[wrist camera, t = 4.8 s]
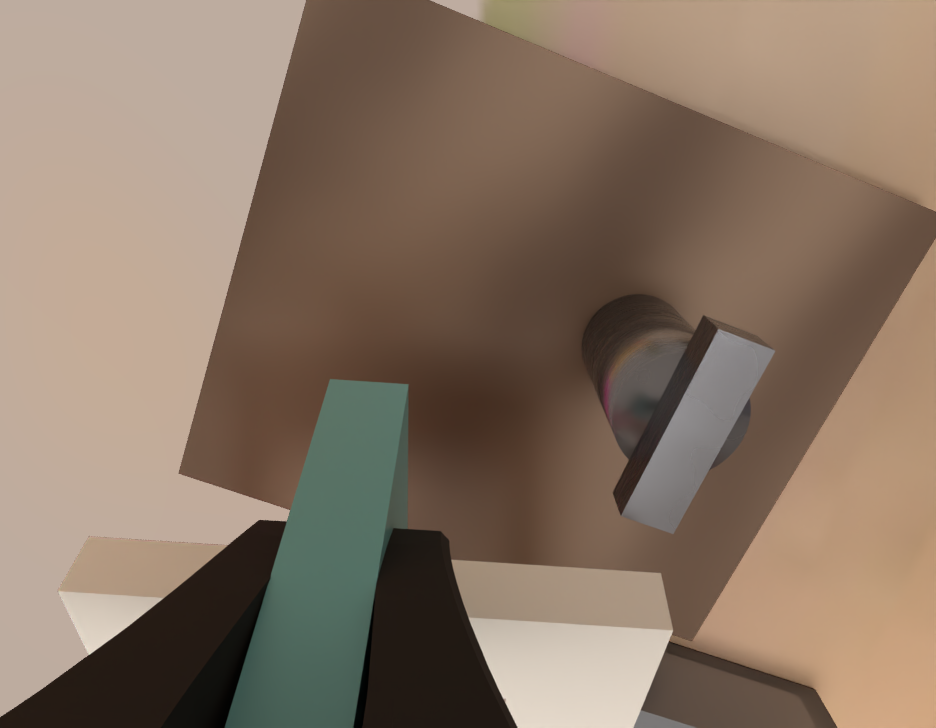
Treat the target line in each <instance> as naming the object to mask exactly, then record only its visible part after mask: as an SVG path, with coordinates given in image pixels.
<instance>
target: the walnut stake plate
mask: <svg viewBox="0 0 936 728" xmlns="http://www.w3.org/2000/svg"><path fill="white" fill-rule="evenodd" d="M935 238H936V212H935V211H933V210H930V209H928V208H926V207H923V206H921V205H918V204H916V203H914V202H911V201H909V200H906V199H904V198H902V197H899V196H897V195H894V194H892V193H890V192H887V191H885V190H882V189H880V188H878V187H875V186H873V185H870V184H868V183H866V182H863V181H861V180H858V179H856V178H854V177H851V176H849V175H847V174H844V173H842V172H839V171H837V170H835V169H832V168H830V167H827V166H825V165H823V164H820V163H818V162H815V161H813V160H811V159H808V158H806V157H803V156H801V155H799V154H796V153H794V152H791V151H789V150H787V149H784V148H782V147H779V146H777V145H775V144H772V143H770V142H768V141H765V140H763V139H760V138H758V137H756V136H753V135H751V134H748V133H746V132H744V131H741V130H739V129H736V128H734V127H732V126H729V125H727V124H724V123H722V122H720V121H717V120H715V119H712V118H710V117H708V116H705V115H703V114H700V113H698V112H696V111H693V110H691V109H689V108H686V107H684V106H681V105H679V104H677V103H674V102H672V101H669V100H667V99H665V98H662V97H660V96H657V95H655V94H653V93H650V92H648V91H645V90H643V89H641V88H638V87H636V86H633V85H631V84H629V83H626V82H624V81H621V80H619V79H617V78H614V77H612V76H609V75H607V74H605V73H602V72H600V71H598V70H595V69H593V68H590V67H588V66H586V65H583V64H581V63H578V62H576V61H574V60H571V59H569V58H566V57H564V56H562V55H559V54H557V53H554V52H552V51H550V50H547V49H545V48H542V47H540V46H538V45H535V44H533V43H530V42H528V41H526V40H523V39H521V38H519V37H516V36H514V35H511V34H509V33H507V32H504V31H502V30H499V29H497V28H495V27H492V26H490V25H487V24H485V23H483V22H480V21H478V20H475V19H473V18H471V17H468V16H466V15H463V14H461V13H459V12H456V11H454V10H451V9H449V8H447V7H444V6H442V5H439V4H437V3H435V2H432V1H430V0H306V4H305V7H304V11H303V14H302V18H301V22H300V26H299V29H298V33H297V37H296V41H295V44H294V48H293V52H292V55H291V59H290V63H289V67H288V70H287V74H286V78H285V81H284V85H283V89H282V92H281V96H280V100H279V103H278V107H277V111H276V114H275V118H274V122H273V126H272V129H271V133H270V137H269V140H268V144H267V148H266V152H265V155H264V159H263V163H262V166H261V170H260V174H259V178H258V181H257V185H256V189H255V192H254V196H253V200H252V203H251V207H250V211H249V214H248V218H247V222H246V226H245V229H244V233H243V237H242V240H241V244H240V248H239V252H238V255H237V259H236V263H235V266H234V270H233V274H232V278H231V281H230V285H229V289H228V292H227V296H226V300H225V304H224V307H223V311H222V314H221V318H220V322H219V326H218V329H217V333H216V337H215V341H214V344H213V348H212V352H211V355H210V359H209V363H208V367H207V370H206V374H205V378H204V381H203V385H202V389H201V393H200V396H199V400H198V403H197V407H196V411H195V415H194V419H193V422H192V426H191V429H190V434H189V437H188V441H187V444H186V448H185V452H184V455H183V459H182V463H181V466H180V470H179V474H182V475H185V476H188V477H191V478H194V479H197V480H200V481H203V482H206V483H209V484H213V485H216V486H219V487H222V488H225V489H228V490H231V491H234V492H237V493H240V494H243V495H246V496H249V497H252V498H255V499H258V500H262V501H264V502H268V503H271V504H274V505H277V506H280V507H283V508H286V509H289V510H291V506H292V503H293V500H294V497H295V493H296V490H297V487H298V483H299V480H300V477H301V473H302V470H303V467H304V463H305V460H306V457H307V454H308V450H309V447H310V444H311V440H312V437H313V434H314V430H315V427H316V424H317V421H318V417H319V414H320V411H321V407H322V404H323V401H324V397H325V394H326V391H327V387H328V384H329V381H330V379H336V380H351V381H366V382H382V383H397V384H409V385H408V529H417V530H433V531H441V532H442V533H443V534H444V535H445V536H446V537H447V538H448V539H449V547H450V555H451V560H465V561H480V562H496V563H512V564H527V565H543V566H558V567H574V568H589V569H605V570H620V571H636V572H652V573H661V576H662V581H663V585H664V590H665V595H666V599H667V604H668V609H669V613H670V618H671V623H672V627H673V632H672V635H675V636H678V637H681V638H684V639H687V640H690V641H692V640H693V639H694V637H695V635H696V634H697V632H698V630H699V629H700V627H701V625H702V624H703V622H704V620H705V619H706V617H707V615H708V614H709V612H710V610H711V609H712V607H713V605H714V604H715V602H716V600H717V599H718V597H719V596H720V594H721V592H722V591H723V589H724V587H725V586H726V584H727V582H728V581H729V579H730V577H731V576H732V574H733V572H734V571H735V569H736V567H737V566H738V564H739V562H740V561H741V559H742V557H743V556H744V554H745V552H746V551H747V549H748V548H749V546H750V544H751V543H752V541H753V539H754V538H755V536H756V534H757V533H758V531H759V529H760V528H761V526H762V524H763V523H764V521H765V519H766V518H767V516H768V514H769V513H770V511H771V509H772V508H773V506H774V505H775V503H776V501H777V500H778V498H779V496H780V495H781V493H782V491H783V490H784V488H785V486H786V485H787V483H788V481H789V480H790V478H791V476H792V475H793V473H794V471H795V470H796V468H797V466H798V465H799V463H800V461H801V460H802V458H803V457H804V455H805V453H806V452H807V450H808V448H809V447H810V445H811V443H812V442H813V440H814V438H815V437H816V435H817V433H818V432H819V430H820V428H821V427H822V425H823V423H824V422H825V420H826V418H827V417H828V415H829V413H830V412H831V410H832V409H833V407H834V405H835V404H836V402H837V400H838V399H839V397H840V395H841V394H842V392H843V390H844V389H845V387H846V385H847V384H848V382H849V380H850V379H851V377H852V375H853V374H854V372H855V370H856V369H857V367H858V365H859V364H860V362H861V361H862V359H863V357H864V356H865V354H866V352H867V351H868V349H869V347H870V346H871V344H872V342H873V341H874V339H875V337H876V336H877V334H878V332H879V331H880V329H881V327H882V326H883V324H884V322H885V321H886V319H887V317H888V316H889V314H890V313H891V311H892V309H893V308H894V306H895V304H896V303H897V301H898V299H899V298H900V296H901V294H902V293H903V291H904V289H905V288H906V286H907V284H908V283H909V281H910V279H911V278H912V276H913V274H914V273H915V271H916V269H917V268H918V266H919V265H920V263H921V261H922V260H923V258H924V256H925V255H926V253H927V251H928V250H929V248H930V246H931V245H932V243H933V241H934V240H935ZM631 294H645V295H651V296H654V297H657V298H660V299H662V300H664V301H665V302H667V303H668V304H670V305H671V306H672V307H673V308H674V309H675V310H676V311H677V312H678V313H679V314H680V315H681V316H682V317H683V318H684V319H685V320H686V321H687V322H688V323H689V324H690V325H691V326H692V327H693V328H694V329H695V330H696V328H697V326H698V324H699V322H700V320H701V318H702V316H703V315H705V316H708V317H710V318H713V319H715V320H718V321H721V322H723V323H726V324H728V325H731V326H734V327H736V328H739V329H742V330H744V331H747V332H749V333H752V334H755V335H757V336H758V337H759V338H761V339H762V340H763V341H764V342H766V343H767V344H768V345H769V346H770V347H772V348H773V349H774V350H775V353H774V354H773V356H772V358H771V360H770V362H769V363H768V365H767V367H766V369H765V370H764V372H763V374H762V376H761V378H760V379H759V381H758V383H757V385H756V387H755V388H754V390H753V392H752V394H751V396H750V403H751V416H750V422H749V426H748V429H747V432H746V434H745V436H744V438H743V440H742V441H741V443H740V444H739V446H738V447H737V448H736V450H735V451H734V452H733V453H732V454H731V455H730V456H729V457H728V458H727V459H726V460H724V461H723V462H722V463H720V464H719V465H717V466H716V467H714V468H712V469H710V470H709V471H708V473H707V475H706V476H705V478H704V480H703V482H702V484H701V485H700V487H699V489H698V491H697V492H696V494H695V496H694V498H693V500H692V501H691V503H690V505H689V507H688V509H687V510H686V512H685V514H684V516H683V518H682V519H681V521H680V523H679V525H678V527H677V528H676V530H675V532H674V534H671V533H668V532H666V531H663V530H660V529H657V528H654V527H651V526H648V525H645V524H642V523H639V522H636V521H634V520H631V519H628V518H625V517H622V516H621V515H620V513H619V510H618V507H617V504H616V501H615V498H614V495H613V493H612V492H613V490H614V488H615V486H616V484H617V482H618V481H619V479H620V477H621V475H622V473H623V471H624V469H625V467H626V465H627V463H628V461H629V459H628V458H627V457H626V456H625V455H624V453H623V452H622V451H621V449H620V447H619V445H618V443H617V441H616V439H615V436H614V434H613V432H612V429H611V427H610V424H609V422H608V420H607V417H606V415H605V412H604V410H603V408H602V405H601V403H600V400H599V398H598V396H597V393H596V391H595V388H594V386H593V384H592V381H591V379H590V376H589V374H588V372H587V369H586V367H585V364H584V361H583V358H582V349H581V345H582V338H583V334H584V331H585V328H586V326H587V324H588V322H589V321H590V319H591V318H592V316H593V315H594V314H595V313H596V312H597V311H598V310H599V309H600V308H601V307H602V306H604V305H605V304H607V303H608V302H610V301H612V300H614V299H616V298H619V297H622V296H626V295H631Z"/></svg>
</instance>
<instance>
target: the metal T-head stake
mask: <svg viewBox="0 0 936 728" xmlns="http://www.w3.org/2000/svg"><path fill="white" fill-rule="evenodd" d="M581 349H582V358H583V361H584V364H585V367H586V369H587V372H588V374H589V376H590V379H591V381H592V384H593V386H594V388H595V391H596V393H597V396H598V398H599V400H600V403H601V405H602V408H603V410H604V412H605V415H606V417H607V420H608V422H609V424H610V427H611V429H612V432H613V434H614V436H615V439H616V441H617V443H618V445H619V447H620V449H621V451H622V452H623V453H624V455H625V456H626V457H627V458H628V459H629V461H628V463H627V465H626V467H625V469H624V471H623V473H622V475H621V477H620V479H619V481H618V482H617V484H616V486H615V488H614V490H613V492H612V493H613V495H614V498H615V501H616V504H617V507H618V510H619V513H620V515H621V516H622V517H625V518H628V519H631V520H634V521H636V522H639V523H642V524H645V525H648V526H651V527H654V528H657V529H660V530H663V531H666V532H668V533H671V534H674V532H675V530H676V528H677V527H678V525H679V523H680V521H681V519H682V518H683V516H684V514H685V512H686V510H687V509H688V507H689V505H690V503H691V501H692V500H693V498H694V496H695V494H696V492H697V491H698V489H699V487H700V485H701V484H702V482H703V480H704V478H705V476H706V475H707V473H708V471H709V470H710V469H712V468H714V467H716V466H717V465H719V464H720V463H722V462H723V461H724V460H726V459H727V458H728V457H729V456H730V455H731V454H732V453H733V452H734V451H735V450H736V448H737V447H738V446H739V444H740V443H741V441H742V440H743V438H744V436H745V434H746V432H747V429H748V426H749V422H750V416H751V403H750V396H751V394H752V392H753V390H754V388H755V387H756V385H757V383H758V381H759V379H760V378H761V376H762V374H763V372H764V370H765V369H766V367H767V365H768V363H769V362H770V360H771V358H772V356H773V354H774V353H775V350H774V349H773V348H772V347H770V346H769V345H768V344H767V343H766V342H764V341H763V340H762V339H761V338H759V337H758V336H757V335H755V334H752V333H749V332H747V331H744V330H742V329H739V328H736V327H734V326H731V325H728V324H726V323H723V322H721V321H718V320H715V319H713V318H710V317H708V316H705V315H703V316H702V318H701V320H700V322H699V324H698V326H697V328H696V330H695V329H694V328H693V327H692V326H691V325H690V324H689V323H688V322H687V321H686V320H685V319H684V318H683V317H682V316H681V315H680V314H679V313H678V312H677V311H676V310H675V309H674V308H673V307H672V306H671V305H670V304H668V303H667V302H665V301H664V300H662V299H660V298H657V297H654V296H651V295H645V294H631V295H626V296H622V297H619V298H616V299H614V300H612V301H610V302H608V303H607V304H605V305H604V306H602V307H601V308H600V309H599V310H598V311H597V312H596V313H595V314H594V315H593V316H592V318H591V319H590V321H589V322H588V324H587V326H586V328H585V331H584V334H583V338H582V345H581Z"/></svg>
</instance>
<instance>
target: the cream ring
mask: <svg viewBox="0 0 936 728" xmlns="http://www.w3.org/2000/svg"><path fill="white" fill-rule="evenodd" d="M408 385H409V384H397V383H382V382H366V381H351V380H336V379H330V381H329V384H328V387H327V391H326V394H325V397H324V401H323V404H322V407H321V411H320V414H319V417H318V421H317V424H316V427H315V430H314V434H313V437H312V440H311V444H310V447H309V450H308V454H307V457H306V460H305V463H304V467H303V470H302V473H301V477H300V480H299V483H298V487H297V490H296V493H295V497H294V500H293V503H292V506H291V510H290V513H289V516H288V520H287V523H286V526H285V530H284V533H283V536H282V539H281V543H280V546H279V549H278V553H277V556H276V559H275V563H274V566H273V569H272V573H271V578H270V581H269V583H268V586H267V589H266V592H265V596H264V599H263V602H262V606H261V609H260V612H259V615H258V619H257V622H256V625H255V629H254V632H253V635H252V639H251V642H250V645H249V649H248V652H247V655H246V658H245V662H244V665H243V668H242V672H241V675H240V678H239V682H238V685H237V688H236V692H235V695H234V698H233V701H232V705H231V708H230V711H229V715H228V718H227V721H226V725H225V728H362V727H363V720H364V713H365V706H366V699H367V692H368V680H369V668H370V655H371V643H372V631H373V619H374V607H375V594H376V582H377V579H378V575H379V572H380V568H381V565H382V561H383V558H384V554H385V551H386V548H387V545H388V542H389V539H390V536H391V533H392V531H393V528H400V529H408ZM227 546H228V545H215V544H200V543H185V542H169V541H154V540H138V539H123V538H107V537H92V536H91V537H90V536H89V537H88V539H87V541H86V542H85V544H84V546H83V547H82V549H81V551H80V553H79V555H78V556H77V558H76V560H75V561H74V563H73V565H72V567H71V568H70V570H69V572H68V574H67V576H66V577H65V579H64V581H63V582H62V584H61V586H60V588H59V589H58V593H59V595H60V598H61V599H62V601H63V604H64V606H65V608H66V610H67V612H68V614H69V616H70V617H71V620H72V622H73V623H74V626H75V628H76V630H77V632H78V634H79V636H80V638H81V640H82V642H83V644H84V646H85V648H86V650H87V652H88V654H89V655H90V654H91V653H92V652H94V651H95V650H96V649H98V648H99V647H101V646H102V645H103V644H105V643H106V642H107V641H109V640H110V639H112V638H113V637H114V636H116V635H117V634H118V633H120V632H121V631H123V630H124V629H125V628H127V627H128V626H129V625H130V624H132V623H133V622H134V621H136V620H137V619H138V618H139V617H141V616H142V615H143V614H144V613H146V612H147V611H148V610H149V609H151V608H152V607H153V606H154V605H156V604H157V603H158V602H159V601H161V600H162V599H163V598H164V597H166V596H167V595H168V594H169V593H171V592H172V591H173V590H175V589H176V588H177V587H178V586H179V585H181V584H182V583H183V582H184V581H185V580H187V579H188V578H189V577H190V576H192V575H193V574H194V573H195V572H196V571H198V570H199V569H200V568H201V567H202V566H204V565H205V564H206V563H207V562H208V561H210V560H211V559H212V558H213V557H214V556H216V555H217V554H218V553H219V552H220V551H222V550H223V549H224V548H225V547H227ZM451 561H452V565H453V570H454V574H455V577H456V581H457V585H458V588H459V591H460V594H461V597H462V601H463V604H464V607H465V609H466V612H467V615H468V618H469V620H470V623H471V626H472V628H473V630H474V633H475V635H476V638H477V640H478V643H479V645H480V648H481V650H482V652H483V655H484V657H485V660H486V662H487V665H488V667H489V669H490V671H491V674H492V676H493V678H494V680H495V682H496V684H497V687H498V689H499V691H500V693H501V695H502V697H503V699H504V701H505V703H506V705H507V707H508V709H509V711H510V713H511V715H512V717H513V719H514V721H515V723H516V725H517V727H518V728H634V725H635V723H636V720H637V718H638V715H639V713H640V710H641V708H642V706H643V703H644V701H645V698H646V696H647V693H648V691H649V688H650V686H651V683H652V681H653V679H654V676H655V674H656V671H657V669H658V666H659V664H660V661H661V659H662V657H663V654H664V652H665V649H666V647H667V644H668V642H669V639H670V637H671V635H672V632H673V627H672V623H671V618H670V613H669V609H668V604H667V599H666V595H665V590H664V585H663V581H662V576H661V573H652V572H636V571H620V570H605V569H589V568H574V567H558V566H543V565H527V564H512V563H496V562H480V561H465V560H451Z"/></svg>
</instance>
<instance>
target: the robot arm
mask: <svg viewBox="0 0 936 728" xmlns="http://www.w3.org/2000/svg"><path fill="white" fill-rule="evenodd" d="M286 523H287V522H285V521H268V520H259V521H257V522H256V523H255V524H254V525H252V526H251V527H250V528H249V529H247V530H246V531H245V532H244V533H242V534H241V535H240V536H239V537H238V538H236V539H235V540H234V541H233V542H231V544H229V545H228V546H227V547H225V548H224V549H223V550H222V551H220V552H219V553H218V554H217V555H216V556H214V557H213V558H212V559H211V560H210V561H208V562H207V563H206V564H205V565H204V566H202V567H201V568H200V569H199V570H198V571H196V572H195V573H194V574H193V575H192V576H190V577H189V578H188V579H187V580H185V581H184V582H183V583H182V584H181V585H179V586H178V587H177V588H176V589H175V590H173V591H172V592H171V593H169V594H168V595H167V596H166V597H164V598H163V599H162V600H161V601H159V602H158V603H157V604H156V605H154V606H153V607H152V608H151V609H149V610H148V611H147V612H146V613H144V614H143V615H142V616H141V617H139V618H138V619H137V620H136V621H134V622H133V623H132V624H130V625H129V626H128V627H127V628H125V629H124V630H123V631H121V632H120V633H118V634H117V635H116V636H114V637H113V638H112V639H110V640H109V641H107V642H106V643H105V644H103V645H102V646H101V647H99V648H98V649H96V650H95V651H94V652H92V653H91V654H90V655H88V656H87V657H85V658H84V659H83V660H81V661H80V662H79V663H77V664H76V665H75V666H73V667H72V668H71V669H69V670H68V671H66V672H65V673H64V674H62V675H61V676H60V677H58V678H57V679H55V680H54V681H53V682H51V683H50V684H48V685H47V686H46V687H44V688H43V689H42V690H40V691H39V692H37V693H36V694H34V695H33V696H31V697H30V698H28V699H27V700H25V701H24V702H22V703H21V704H19V705H18V706H17V707H15V708H14V709H12V710H10V711H9V712H7V713H6V714H4V715H3V716H1V717H0V728H225V725H226V721H227V718H228V715H229V711H230V708H231V705H232V701H233V698H234V695H235V692H236V688H237V685H238V682H239V678H240V675H241V672H242V668H243V665H244V662H245V658H246V655H247V652H248V649H249V645H250V642H251V639H252V635H253V632H254V629H255V625H256V622H257V619H258V615H259V612H260V609H261V606H262V602H263V599H264V596H265V592H266V589H267V586H268V583H269V581H270V578H271V573H272V569H273V566H274V563H275V559H276V556H277V553H278V549H279V546H280V543H281V539H282V536H283V533H284V530H285V526H286ZM362 728H518V727H517V725H516V723H515V721H514V719H513V717H512V715H511V713H510V711H509V709H508V707H507V705H506V703H505V701H504V699H503V697H502V695H501V693H500V691H499V689H498V687H497V684H496V682H495V680H494V678H493V676H492V674H491V671H490V669H489V667H488V665H487V662H486V660H485V657H484V655H483V652H482V650H481V648H480V645H479V643H478V640H477V638H476V635H475V633H474V630H473V628H472V626H471V623H470V620H469V618H468V615H467V612H466V609H465V607H464V604H463V601H462V597H461V594H460V591H459V588H458V585H457V581H456V577H455V574H454V570H453V565H452V561H451V555H450V547H449V539H448V538H447V537H446V536H445V535H444V534H443V533H442V532H441V531H433V530H417V529H400V528H393V531H392V533H391V536H390V539H389V542H388V545H387V548H386V551H385V554H384V558H383V561H382V565H381V568H380V572H379V575H378V579H377V582H376V594H375V607H374V619H373V631H372V643H371V655H370V668H369V680H368V692H367V699H366V706H365V713H364V720H363V727H362Z"/></svg>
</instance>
